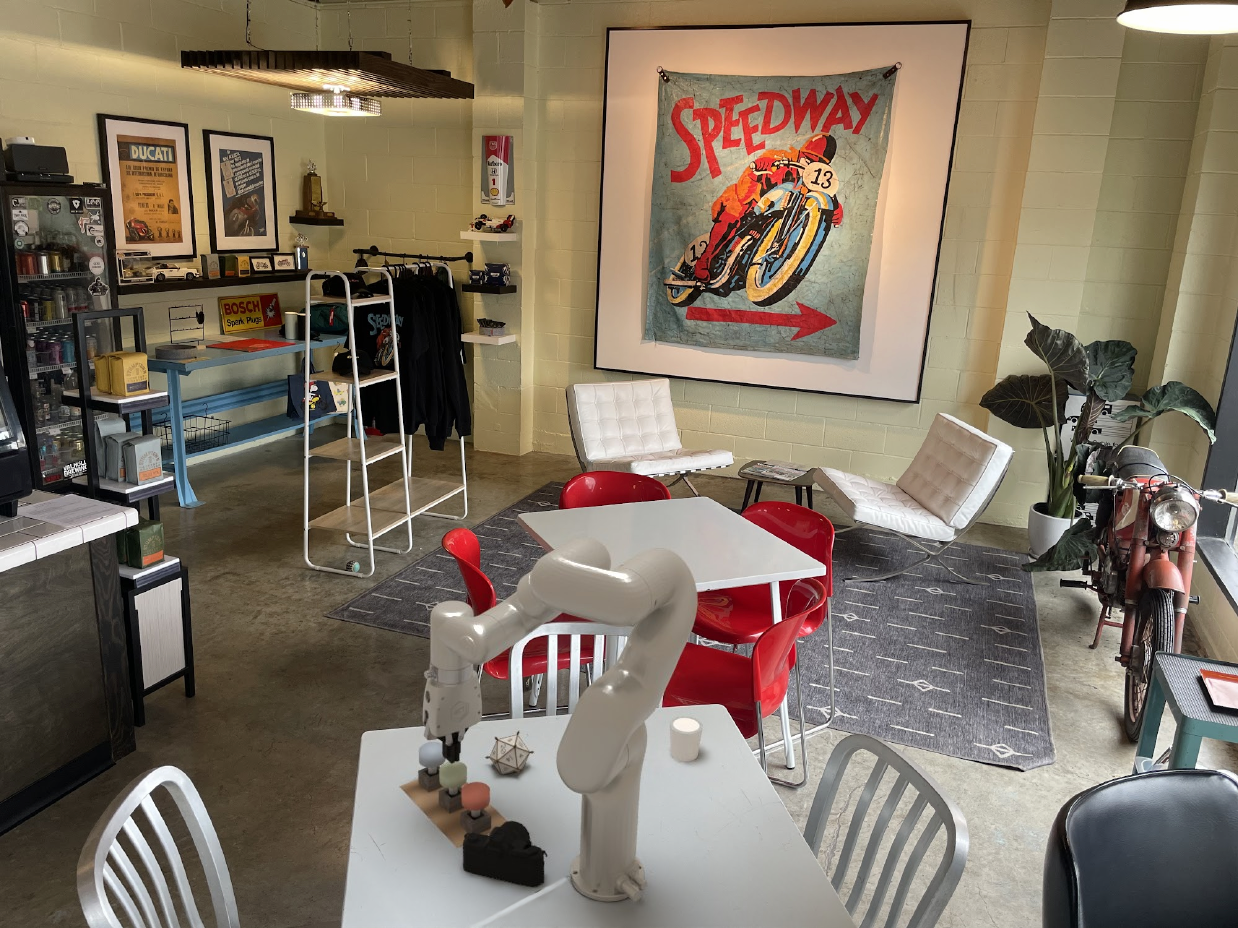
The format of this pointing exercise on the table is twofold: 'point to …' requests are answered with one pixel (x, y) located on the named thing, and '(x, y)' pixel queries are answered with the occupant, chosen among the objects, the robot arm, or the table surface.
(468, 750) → the table surface
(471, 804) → the brick button
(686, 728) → the white cylinder
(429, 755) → the slate button
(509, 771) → the game die
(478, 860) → the film camera
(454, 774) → the sage button
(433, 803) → the wooden button base
